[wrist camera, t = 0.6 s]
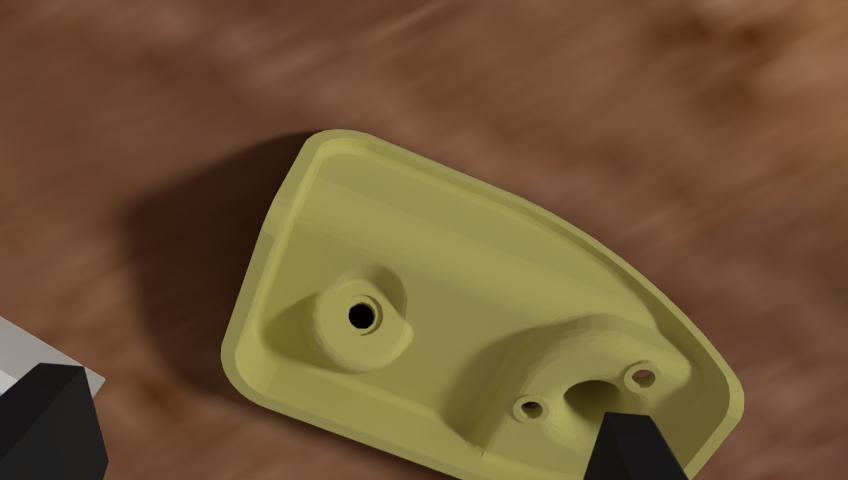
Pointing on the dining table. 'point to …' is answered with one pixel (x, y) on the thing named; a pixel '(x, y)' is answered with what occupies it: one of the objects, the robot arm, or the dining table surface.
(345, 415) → the plastic component
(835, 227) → the dining table surface
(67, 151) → the dining table surface
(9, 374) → the block
